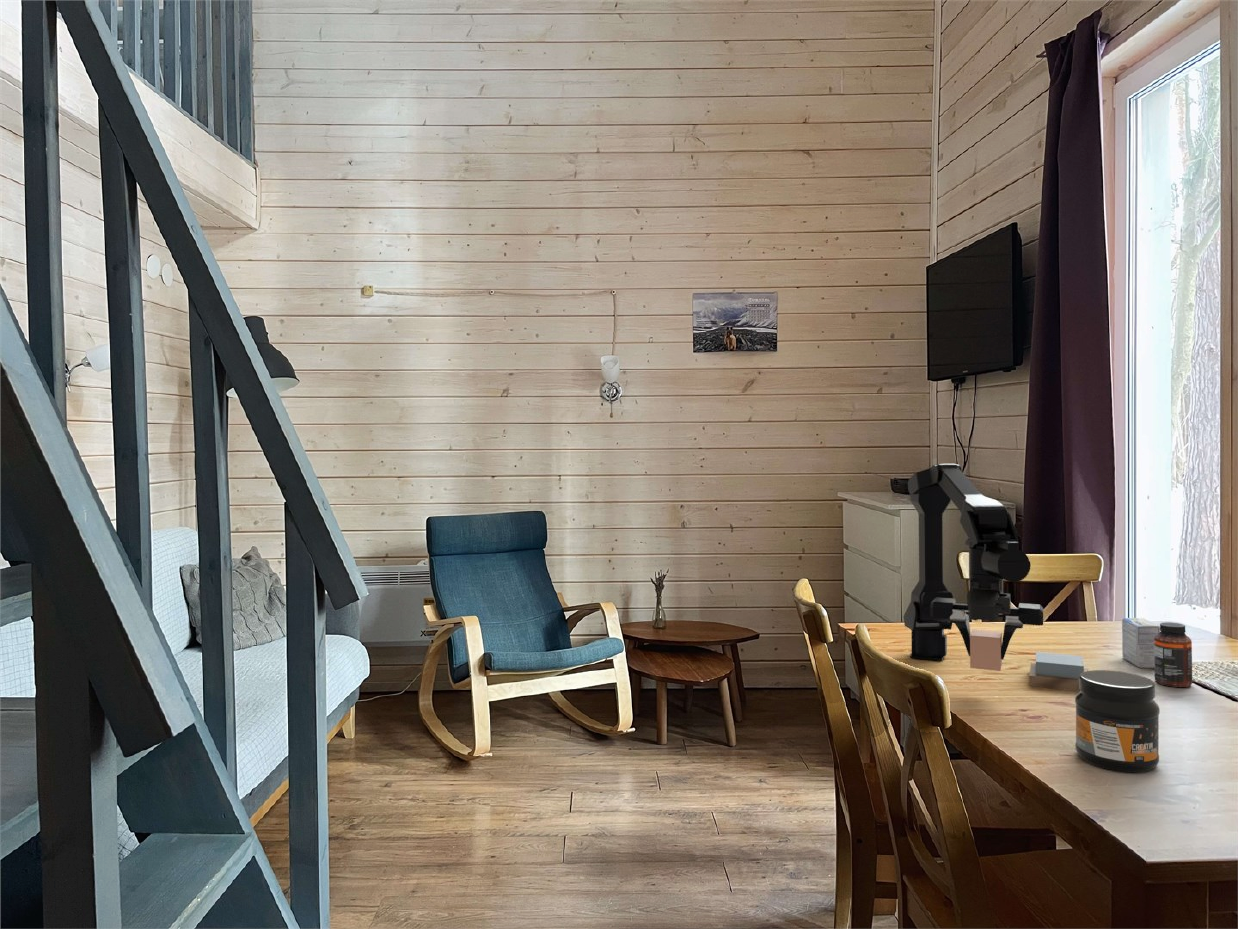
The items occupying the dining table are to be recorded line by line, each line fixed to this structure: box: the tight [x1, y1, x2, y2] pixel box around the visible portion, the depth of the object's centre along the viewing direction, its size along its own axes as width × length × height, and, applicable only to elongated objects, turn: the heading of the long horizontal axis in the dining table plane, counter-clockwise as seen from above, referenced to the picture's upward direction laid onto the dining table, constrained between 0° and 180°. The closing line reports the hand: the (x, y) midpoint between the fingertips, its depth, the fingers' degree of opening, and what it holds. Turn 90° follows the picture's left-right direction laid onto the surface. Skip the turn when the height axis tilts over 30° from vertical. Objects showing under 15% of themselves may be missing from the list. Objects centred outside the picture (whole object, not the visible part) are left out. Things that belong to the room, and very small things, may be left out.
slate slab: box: [1035, 651, 1085, 679], centre depth 160 cm, size 8×8×2 cm
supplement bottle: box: [1154, 621, 1193, 688], centre depth 157 cm, size 6×6×11 cm
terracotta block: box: [969, 629, 1003, 672], centre depth 152 cm, size 5×5×6 cm
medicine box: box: [1121, 617, 1161, 669], centre depth 171 cm, size 8×4×9 cm, turn 168°
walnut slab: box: [1028, 662, 1089, 692], centre depth 159 cm, size 10×10×2 cm
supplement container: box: [1074, 669, 1161, 773], centre depth 121 cm, size 10×10×12 cm
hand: (986, 657), depth 152 cm, fingers closed on terracotta block, 5 cm apart
